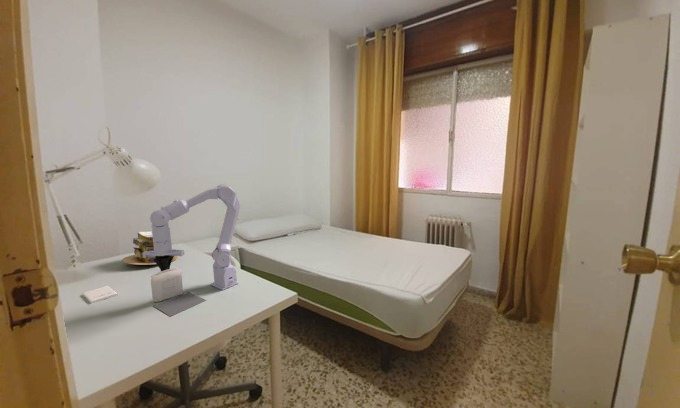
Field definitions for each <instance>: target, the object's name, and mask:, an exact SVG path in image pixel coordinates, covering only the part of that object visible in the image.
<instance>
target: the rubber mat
mask: <svg viewBox="0 0 680 408" xmlns="http://www.w3.org/2000/svg"><path fill="white" fill-rule="evenodd" d="M206 301H207V299H205V298H203V297H201V296H198V295H196V294H194V293H192V292H190V291H187V292H185V293H182V294H180V295H177V296H174V297H171V298H168V299H165V300H163V301H160V302H159V303H156V304H154V305H153V306H152V307H153V308H155V309H157V310H158V311H161V312H162V313H163V314H165V315H167V316H168V317H170V318H171V317H173V316H175V315H177V314H180V313H182V312H183V311H186V310H188V309H191V308H193V307H195V306H197V305H199V304H201V303H203V302H206Z"/></svg>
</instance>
